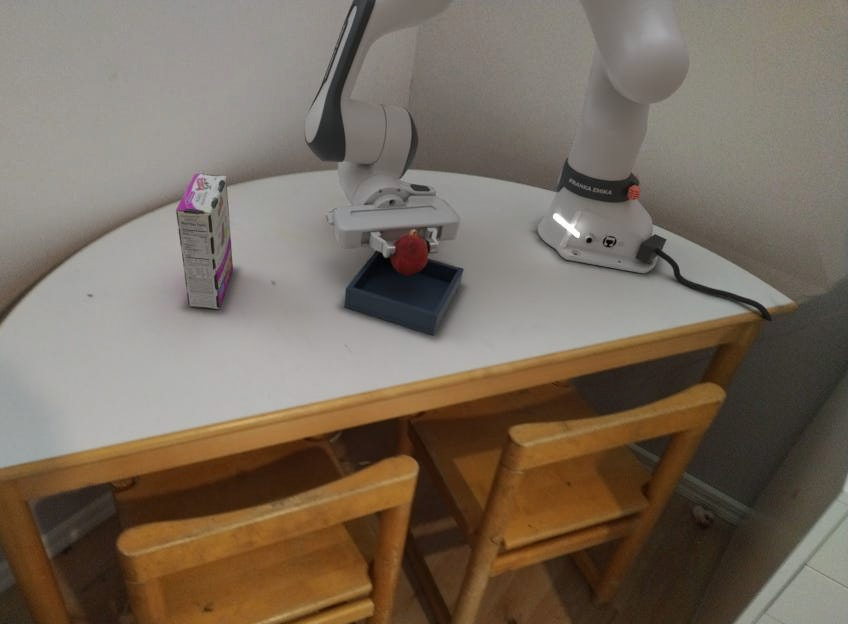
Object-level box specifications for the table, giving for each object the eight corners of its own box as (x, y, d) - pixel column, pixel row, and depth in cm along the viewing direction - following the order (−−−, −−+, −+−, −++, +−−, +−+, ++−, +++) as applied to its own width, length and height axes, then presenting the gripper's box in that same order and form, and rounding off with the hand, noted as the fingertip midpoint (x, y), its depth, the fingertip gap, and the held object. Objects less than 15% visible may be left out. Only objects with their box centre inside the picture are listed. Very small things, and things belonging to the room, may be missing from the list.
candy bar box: (202, 267, 103) (193, 171, 93) (233, 270, 104) (228, 175, 93) (186, 308, 95) (174, 208, 84) (219, 311, 95) (212, 212, 84)
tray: (459, 286, 106) (463, 268, 104) (433, 335, 96) (437, 316, 93) (378, 262, 109) (380, 244, 107) (344, 307, 99) (345, 288, 96)
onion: (421, 289, 97) (429, 244, 92) (384, 282, 98) (390, 236, 93) (426, 269, 102) (435, 225, 96) (391, 262, 102) (397, 217, 97)
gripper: (323, 192, 101) (348, 238, 91) (442, 185, 106) (477, 227, 97) (321, 228, 105) (345, 275, 95) (436, 219, 111) (469, 263, 101)
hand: (413, 251), depth 96 cm, fingers closed on onion, 6 cm apart
